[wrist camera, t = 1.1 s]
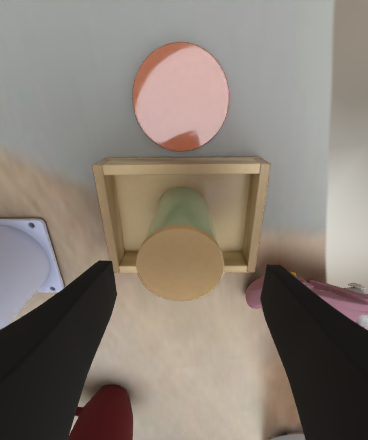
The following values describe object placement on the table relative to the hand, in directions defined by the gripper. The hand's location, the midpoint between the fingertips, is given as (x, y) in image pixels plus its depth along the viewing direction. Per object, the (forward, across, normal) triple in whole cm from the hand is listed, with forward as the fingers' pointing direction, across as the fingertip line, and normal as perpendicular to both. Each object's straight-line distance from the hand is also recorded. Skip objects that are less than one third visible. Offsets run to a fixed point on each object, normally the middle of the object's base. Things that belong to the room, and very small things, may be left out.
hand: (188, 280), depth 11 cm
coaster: (+10, +1, -8) cm, 12 cm away
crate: (+10, 0, 0) cm, 10 cm away
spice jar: (+9, 0, 0) cm, 9 cm away
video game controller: (+10, -11, +8) cm, 17 cm away
